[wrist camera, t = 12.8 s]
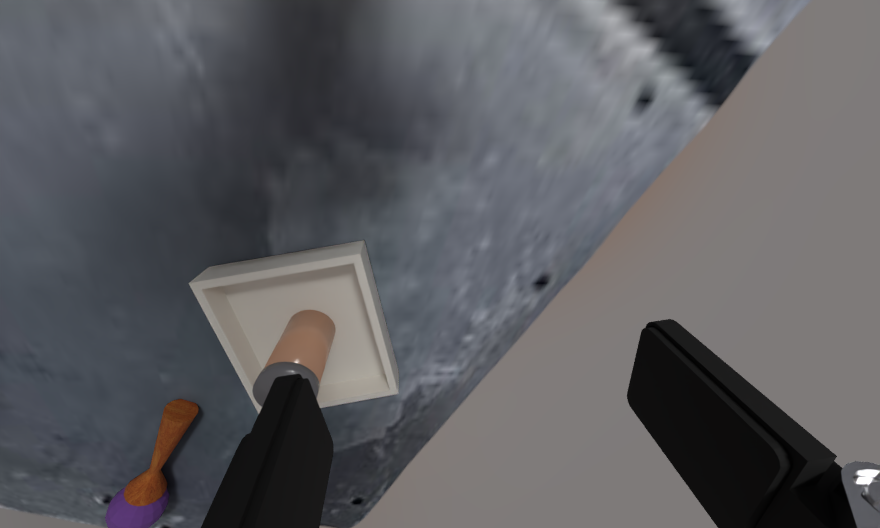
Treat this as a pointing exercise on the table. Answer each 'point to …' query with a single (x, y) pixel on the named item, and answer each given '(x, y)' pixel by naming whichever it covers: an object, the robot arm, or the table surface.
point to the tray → (296, 289)
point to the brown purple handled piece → (152, 474)
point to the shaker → (298, 352)
